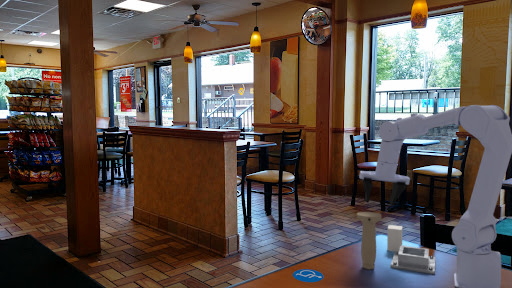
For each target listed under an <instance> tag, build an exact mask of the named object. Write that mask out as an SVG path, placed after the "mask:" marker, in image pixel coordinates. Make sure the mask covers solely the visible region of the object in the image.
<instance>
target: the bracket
mask: <svg viewBox="0 0 512 288" xmlns="http://www.w3.org/2000/svg"><path fill="white" fill-rule="evenodd" d="M393 253H394V254H393V257H392V260H391V263H390V268H391V269H397V270H405V271H411V272H417V273H423V274H429V275H430V274H431V275H436V256H434V255H430V248H424V247H423V248H422V247H416V246H407V245H402V246H400V249H399V251H397V252H395V251H394V252H393Z"/></svg>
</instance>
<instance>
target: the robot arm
mask: <svg viewBox="0 0 512 288" xmlns="http://www.w3.org/2000/svg"><path fill="white" fill-rule="evenodd" d="M510 120H511V117H510V115H508V113H507V112H506V111H505V110H504V109H503V108H501V107H500V106H498V105H496V104H495V105H494V104H490V105H489V104H488V105H478V104H471V105H467V106H458V107H454V108H450V109H448V110H444V111H441V112H438V113H434V114H431V115H428V116H425V115H424V114H421V113H419V114H418V113H417V112H414V113H410V116H408V117H404V118H402V117H397V118H396V120H395V121H390V120H386V121H385V122H383V123H381V124H380V126H379V131H378V134H379V136H380V137H379V138H381V140H380V147H379V151H378V156H377V162H376V166H375V167H376V168H375V171H374V170H373V171H371V170H369V171H366V170H365V171H364V170H360V171H359V174H358V176H359V179H360V180H362V184H363V188H364V189H363V190H364V201H365V202H366V203H367V204H368V203H369V202H370V197H371V192H372V189H373V186H374V184H373V180H374V181H380V182H381V181H382V182H390V183H392V191H391V195H390V200H389V204H390V205H391V206H392V207H394V206H395V204H396V202H397V200H398V198H399V197H400V196H401V194H403V192H404V191H405V190H406V187H407V185H409V186H410V182H411V181H410V180H411V178H410V177H409V176H407V175H406V176H405V175H400V174H397V168H398V163H399V158H400V153H401V149H402V146H403V143H404V141H405V140H406V139H411V138H414V137H419V136H424V135H426V134H427V133H428V132H429V130H430V129H434V128H438V127H443V126H449V125H452V124H454V125H455V126H458V127H460V126H461V128H463V130H464V131H466V132H467V133H469V134H470V135H472V136H473V137H474V138H476V139H477V140H478V141H479V142H480V144H481V145H482V146H483V147H484V149H483V154H482V157H481V161H480V164H479V168H478V172H477V175H476V179H475V182H474V185H473V189H472V193H471V197H470V200H469V203H468V207H467V209H466V211H465V212H464V213H463V215H462V216H461V217H460V218H459V222H458V223H457V225H456V226H455V227H454V228H453V229H452V232H451V239H452V242H453V244H454V245H455V246H456V269H455V270H456V271H455V273H453V280H454V287H455V288H501V284H502V256H501V252H499V251H494V250H492V248H491V247H492V245H491V244H493V243H494V241H496V238H497V230H496V226H497V225H496V224H497V219H496V217H495V216H494V213H495V209H496V206H497V203H498V200H499V196H500V192H501V190H502V186H503V183H504V180H505V176H506V172H507V169H508V166H509V164H510V163H509V162H510V159H511V158H512V157H511V156H512V130H511V127H510Z"/></svg>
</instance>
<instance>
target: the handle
mask: <svg viewBox="0 0 512 288" xmlns="http://www.w3.org/2000/svg"><path fill="white" fill-rule="evenodd" d="M356 218H357V220H358V221H360V222H362V228H361V229H362V230H361V231H362V232H361V244H360V246H361V249H360V251H361V262H362V268H363V269H366V270H374V269H375V268H376V267H375V266H376V264H375V263H376V258H377V235H376V226H377V225H376V223H378V222H381V221H382V214H381V213H379V212H371V211H360V212H357V213H356Z"/></svg>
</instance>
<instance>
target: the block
mask: <svg viewBox="0 0 512 288" xmlns="http://www.w3.org/2000/svg"><path fill="white" fill-rule="evenodd" d="M403 229H404V228H403V226H402V225H395V224H394V225H393V224H388V227H387V239H386V241H387V247H386V248H387V251H389V252H394V253H395V252H397V251H399V249H400V246H403V233H404V232H403V231H404V230H403Z"/></svg>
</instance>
